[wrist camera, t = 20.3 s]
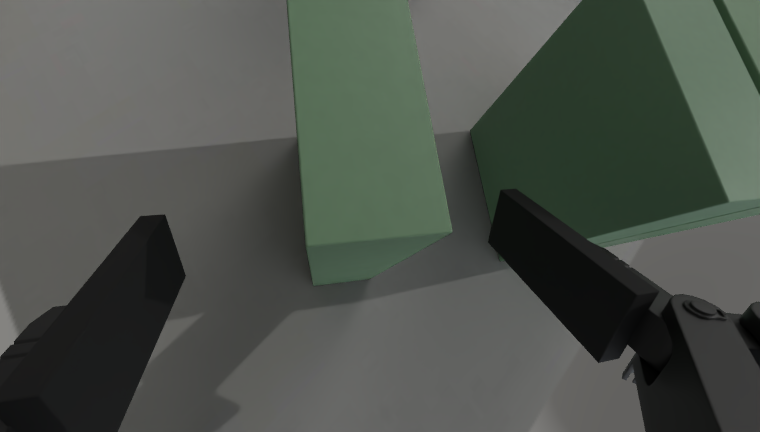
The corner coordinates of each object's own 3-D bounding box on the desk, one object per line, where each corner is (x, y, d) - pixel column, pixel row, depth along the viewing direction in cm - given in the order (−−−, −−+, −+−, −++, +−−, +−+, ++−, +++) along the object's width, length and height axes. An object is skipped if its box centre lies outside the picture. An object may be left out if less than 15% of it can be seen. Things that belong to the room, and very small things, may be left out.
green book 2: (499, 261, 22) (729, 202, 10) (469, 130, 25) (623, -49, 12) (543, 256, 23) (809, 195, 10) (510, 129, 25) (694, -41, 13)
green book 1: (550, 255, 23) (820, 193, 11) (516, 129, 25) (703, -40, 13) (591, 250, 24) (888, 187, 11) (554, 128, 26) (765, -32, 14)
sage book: (313, 286, 19) (305, 247, 7) (301, 136, 22) (279, -86, 10) (370, 279, 20) (453, 232, 8) (352, 134, 23) (394, -73, 10)
